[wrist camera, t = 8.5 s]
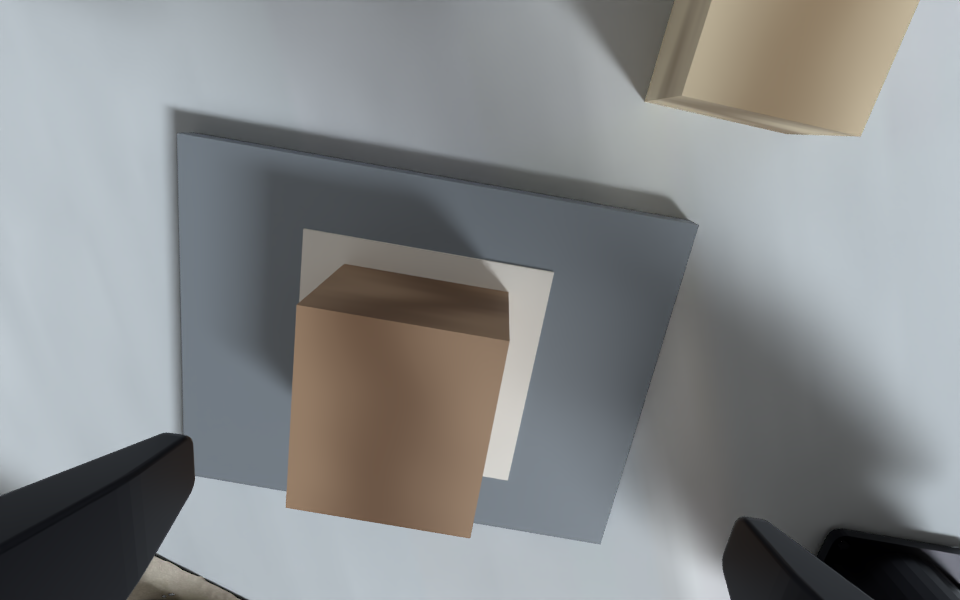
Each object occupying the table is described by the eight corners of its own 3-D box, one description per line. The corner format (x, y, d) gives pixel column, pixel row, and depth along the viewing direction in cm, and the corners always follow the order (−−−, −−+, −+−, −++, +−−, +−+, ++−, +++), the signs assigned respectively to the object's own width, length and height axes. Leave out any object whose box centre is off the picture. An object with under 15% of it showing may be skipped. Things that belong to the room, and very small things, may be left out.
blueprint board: (689, 220, 19) (699, 225, 18) (596, 527, 23) (600, 546, 22) (193, 132, 18) (174, 133, 17) (197, 459, 23) (183, 475, 22)
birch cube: (848, -31, 16) (953, -78, 12) (784, 133, 18) (860, 136, 14) (693, -68, 16) (752, -127, 12) (643, 101, 18) (681, 95, 14)
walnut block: (508, 292, 19) (509, 341, 14) (477, 454, 21) (470, 538, 17) (344, 263, 19) (296, 305, 14) (330, 429, 21) (285, 507, 17)
